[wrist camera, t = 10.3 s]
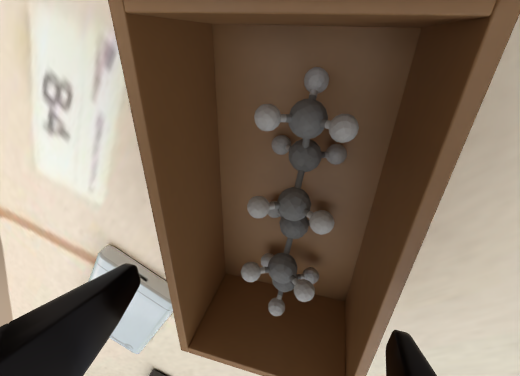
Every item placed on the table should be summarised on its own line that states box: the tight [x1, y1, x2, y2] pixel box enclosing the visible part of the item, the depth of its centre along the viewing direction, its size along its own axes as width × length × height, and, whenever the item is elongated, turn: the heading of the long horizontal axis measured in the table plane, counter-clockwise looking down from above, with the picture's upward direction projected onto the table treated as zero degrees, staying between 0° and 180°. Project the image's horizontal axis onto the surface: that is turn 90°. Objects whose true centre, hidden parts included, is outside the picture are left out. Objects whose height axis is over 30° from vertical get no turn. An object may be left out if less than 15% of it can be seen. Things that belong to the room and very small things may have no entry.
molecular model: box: [241, 67, 359, 316], centre depth 13 cm, size 14×4×5 cm, turn 176°
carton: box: [108, 0, 520, 376], centre depth 13 cm, size 18×10×6 cm, turn 178°
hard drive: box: [88, 245, 173, 354], centre depth 27 cm, size 2×8×12 cm
